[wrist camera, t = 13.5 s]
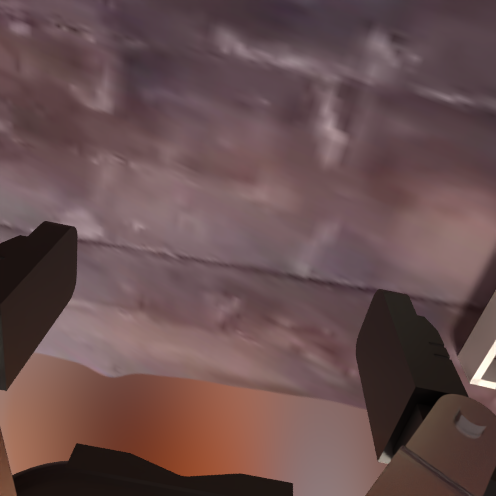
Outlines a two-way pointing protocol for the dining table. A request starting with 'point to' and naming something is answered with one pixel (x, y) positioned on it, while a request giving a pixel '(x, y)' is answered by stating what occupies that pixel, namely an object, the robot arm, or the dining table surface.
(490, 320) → the charger frame
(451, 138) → the dining table surface
